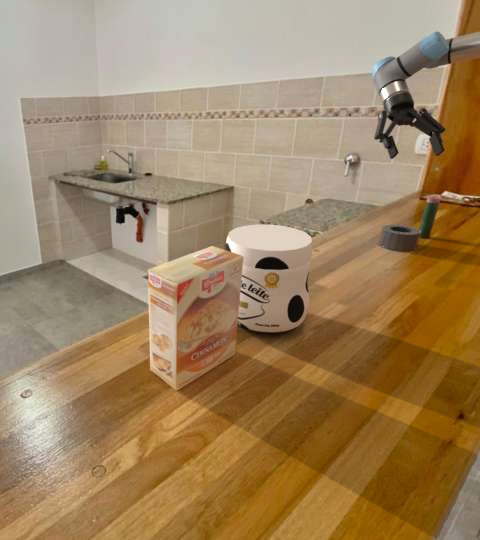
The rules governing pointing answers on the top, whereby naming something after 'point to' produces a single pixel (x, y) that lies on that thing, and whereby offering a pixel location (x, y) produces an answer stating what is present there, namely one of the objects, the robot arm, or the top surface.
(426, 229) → the green marker pen
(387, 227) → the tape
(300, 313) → the milk container
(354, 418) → the top surface
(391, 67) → the robot arm
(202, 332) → the coffeecake box
